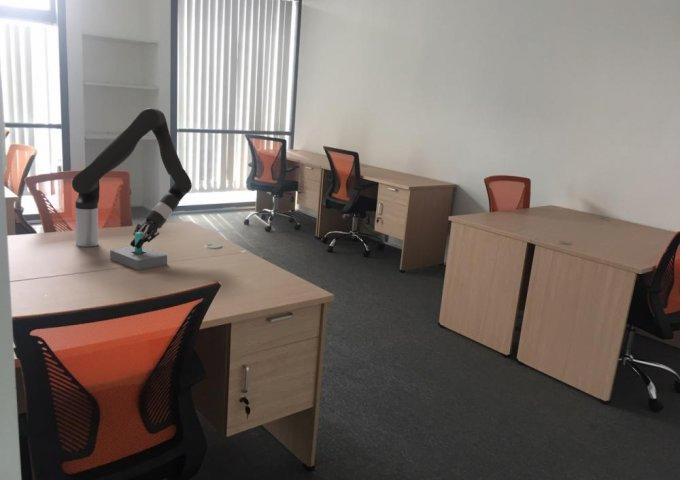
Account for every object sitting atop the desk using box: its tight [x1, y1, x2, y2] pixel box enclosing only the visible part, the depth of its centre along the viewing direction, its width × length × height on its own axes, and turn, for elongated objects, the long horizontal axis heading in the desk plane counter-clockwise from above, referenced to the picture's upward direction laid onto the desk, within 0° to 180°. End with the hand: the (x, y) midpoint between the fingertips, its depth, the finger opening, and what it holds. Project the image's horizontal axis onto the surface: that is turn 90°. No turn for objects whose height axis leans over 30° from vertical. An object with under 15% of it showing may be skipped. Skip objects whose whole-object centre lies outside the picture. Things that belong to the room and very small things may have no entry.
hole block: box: [109, 245, 168, 271], centre depth 248 cm, size 20×14×4 cm
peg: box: [134, 232, 143, 255], centre depth 247 cm, size 3×3×10 cm
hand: (134, 246), depth 246 cm, fingers closed on peg, 3 cm apart
